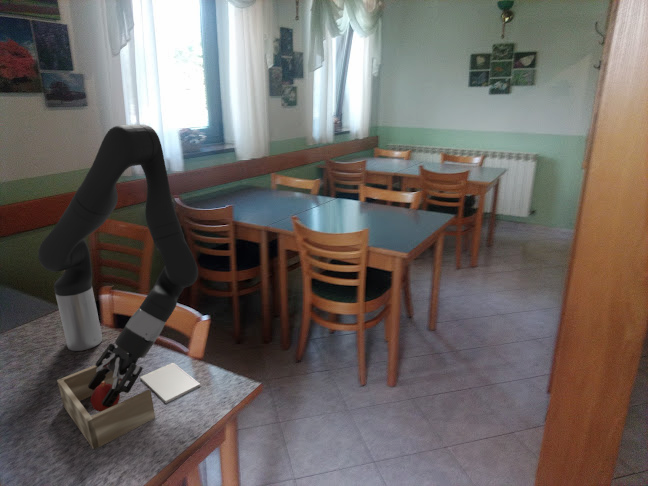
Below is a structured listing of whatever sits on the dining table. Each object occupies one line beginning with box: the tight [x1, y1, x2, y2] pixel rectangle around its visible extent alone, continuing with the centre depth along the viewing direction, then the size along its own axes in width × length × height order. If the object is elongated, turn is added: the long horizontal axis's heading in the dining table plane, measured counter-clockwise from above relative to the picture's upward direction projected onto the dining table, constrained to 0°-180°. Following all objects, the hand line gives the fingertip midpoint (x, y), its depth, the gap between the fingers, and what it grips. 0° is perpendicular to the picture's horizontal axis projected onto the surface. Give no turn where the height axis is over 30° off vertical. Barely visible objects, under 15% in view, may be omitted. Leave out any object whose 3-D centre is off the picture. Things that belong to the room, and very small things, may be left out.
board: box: [139, 362, 201, 404], centre depth 110 cm, size 14×9×1 cm, turn 45°
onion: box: [90, 381, 121, 413], centre depth 99 cm, size 6×6×8 cm
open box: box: [56, 361, 156, 450], centre depth 99 cm, size 20×13×7 cm, turn 45°
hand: (98, 397), depth 98 cm, fingers open, 8 cm apart
